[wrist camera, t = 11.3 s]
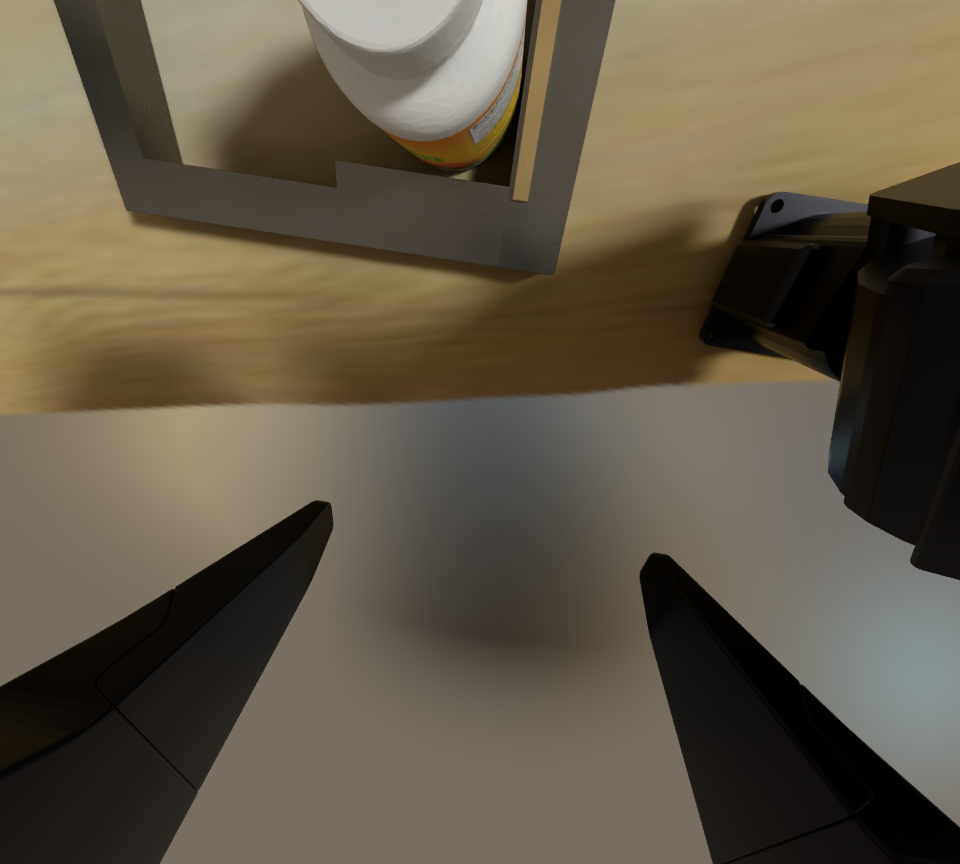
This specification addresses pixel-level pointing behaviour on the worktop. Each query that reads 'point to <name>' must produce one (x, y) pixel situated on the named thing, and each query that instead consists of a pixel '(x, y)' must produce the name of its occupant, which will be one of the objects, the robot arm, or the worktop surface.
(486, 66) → the supplement bottle
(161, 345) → the worktop surface
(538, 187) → the keyhole plate
